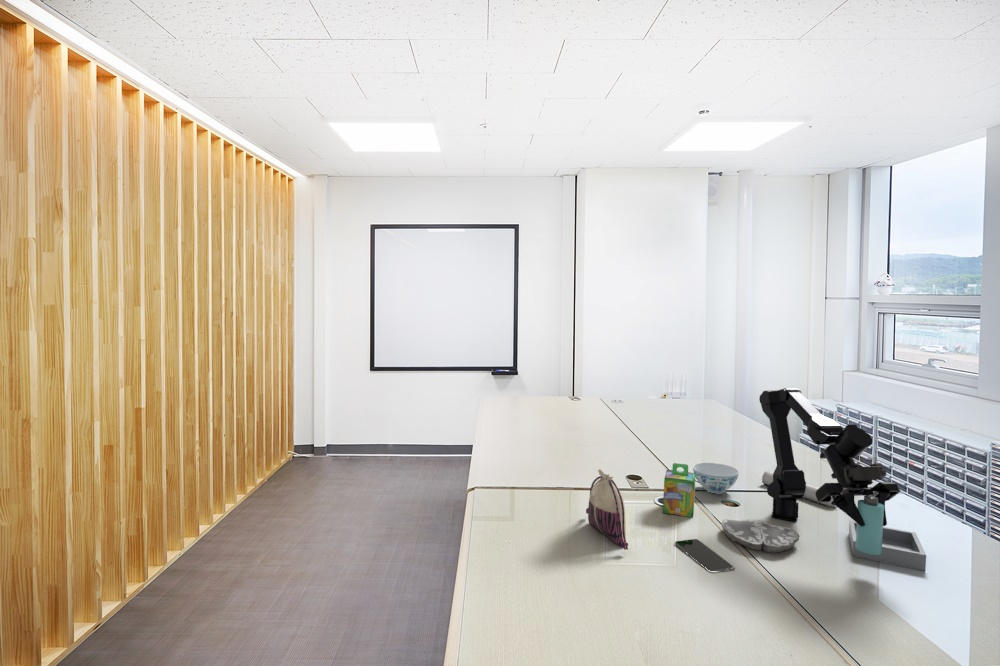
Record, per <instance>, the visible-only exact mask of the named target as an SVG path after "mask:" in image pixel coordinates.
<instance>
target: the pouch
mask: <svg viewBox="0 0 1000 666" xmlns="http://www.w3.org/2000/svg"><path fill="white" fill-rule="evenodd" d="M597 472H598V474H599V476H596V478H595V479H594V480H593V481H592V483H591V486H590V489H589V498H588V499H589V500H588V505H587V506H588V507H587V508H586V509H585V514H587V520H588V521H587V522H588V523H589V524H590V525H591V527H594V528H595V529H597V531H599V532H600V533H601V534H603V535H604V536H606V537H607V538H608V539H610V540H611V541H613V542H614V543H615V544H616V545H618V546H620V547H622V548H623V550H629V548H628V546H629V543H628V542H627V540H626V539H627V538H626V537H627V533H626V532H627V531H626V530H627V529H626V528H627V527H626V510H625V509H626V508H625V506H626V505H625V501H624V498H623V495H622V492H620V489H619V488H618V486H617V484H616V482H615V481H614V480H613V479H614V476H610V474H606V473H604V472H603V470H602V469H601V468H599V469H598V470H597ZM596 481H597V482H596Z"/></svg>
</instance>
